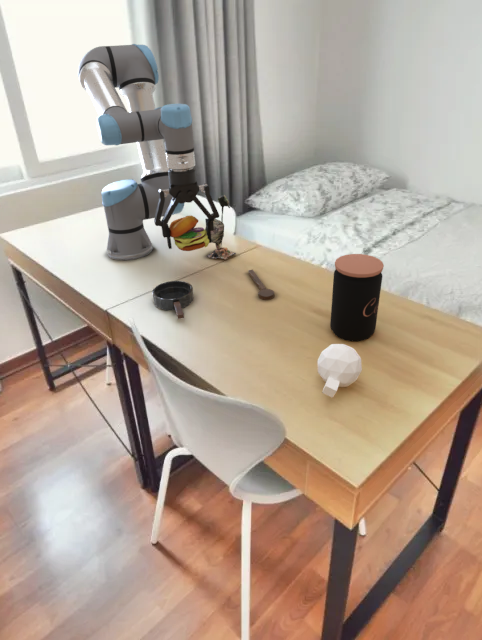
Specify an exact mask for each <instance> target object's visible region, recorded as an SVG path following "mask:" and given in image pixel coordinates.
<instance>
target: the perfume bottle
mask: <svg viewBox="0 0 482 640" xmlns="http://www.w3.org/2000/svg"><path fill="white" fill-rule="evenodd" d="M317 358H318V359H317V361H316V363H317V374H318V375H319V376H320V377H321V378H322V380H323V382H325V384H324V386H323V388H322V391H321V393H322V394H323V395H326V396H327V397H330V398H334V396H335V395H336V393H337V391H338V389H339V388H347V387H349V386H351V385H353V383H355V382H356V381H357V380H358V378H359V376H360V374H361V373H362V371H363V366H362V357H361V355H360V354H358V352H357V351H356V349H355V348H354V347H351V346H349V345H347V344H345V343H331V344H330V345H328V346H327V347H325V349H323V350H322V351H321V352H320V354H319V356H318V357H317Z"/></svg>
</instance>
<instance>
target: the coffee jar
mask: <svg viewBox="0 0 482 640" xmlns="http://www.w3.org/2000/svg"><path fill="white" fill-rule="evenodd" d="M384 266H385V265H384V263H383V261H382V260H381V259H379V258H377V257H375V256H373V255H369V254H364V253H350V254H344V255H341V256H339V257H337V258H336V259H335V261H334V268H335V270H334V272H333V280H332V294H331V295H332V296H331V309H330V321H329V322H330V323H329V325H330V326H329V327H330V330H331V331H332V334H334V336H335V337H337V338H338V339H340V340H343V341H346V342H350V343H352V342H354V343H358V342H364V341H366V340H368V339H370V338H371V337H372V336H373V335H374V333H375V332H376V327H377V320H378V313H379V306H380V305H379V304H380V297H381V290H382V282H383V273H382V272H383V270H384Z"/></svg>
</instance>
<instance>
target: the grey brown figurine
mask: <svg viewBox="0 0 482 640" xmlns="http://www.w3.org/2000/svg"><path fill="white" fill-rule="evenodd" d="M217 200H218V203H219V205H220V207H221V217H220V219H221V220H219V219H218V218H215V219H214V221H213V223H214V230H213V231H211V242H212V243H211V244H215V249H214V250H212V251H211V253H209V254H207V255H206V257H207V258H210V259H217V258H218V259H224V260H228V259H229V257H231V256H234V255H236V254H237V253H236V252H234V251H233V252H232V251H230V250H228V247H225V246H224V247H223V239H224V237H225V224H224V222H223V219H224V216H223V215H224V208H225V207H228V209H230V208H231V206H230V201H229V200H230V199H229V200H228V198H227V196H226V195H225V194H223V195H220V196H219V197H218V198H217ZM204 229H205V230H206V227H205V228H204ZM206 235H207V234H206Z"/></svg>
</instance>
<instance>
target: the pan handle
mask: <svg viewBox="0 0 482 640" xmlns="http://www.w3.org/2000/svg"><path fill="white" fill-rule="evenodd" d="M173 304H174V308H175V310H174V313H175V314H176V318H177V320H181V319H182V320H183V319H185V314H184V312H183V308H181V305H180V302H179V301H178V302H173Z"/></svg>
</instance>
